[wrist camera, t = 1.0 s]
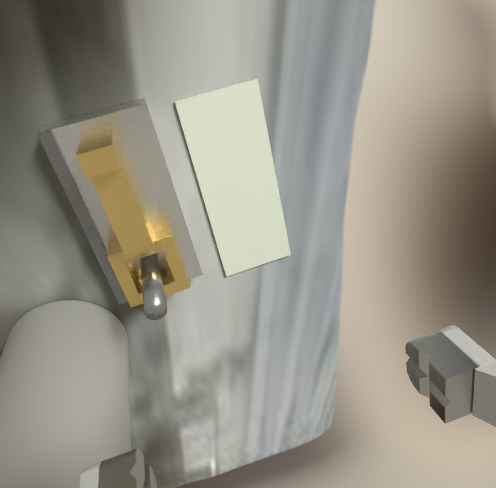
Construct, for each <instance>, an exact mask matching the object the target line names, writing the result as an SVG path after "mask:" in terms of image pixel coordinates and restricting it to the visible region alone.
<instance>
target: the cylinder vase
mask: <svg viewBox="0 0 496 488" xmlns="http://www.w3.org/2000/svg"><path fill="white" fill-rule="evenodd" d="M129 451H131V426H130V391H129V356H128V337H127V333H126V331H125V328H124V326H123V325H122V323H121V322H120V321H119V319H118V318H117V317H116V316H115V315H114V314H112V313H111V312H110V311H108V310H106V309H105V308H103V307H101V306H99V305H96V304H93V303H89V302H85V301H78V300H62V301H55V302H51V303H47V304H44V305H41V306H39V307H37V308H35V309H33V310H31V311H29V312H28V313H26V314H25V315H24V316H22V317H21V318H20V319H19V320H18V321H17V322H16V324H15V325H14V326H13V328H12V329H11V331H10V333H9V335H8V338H7V341H6V344H5V347H4V349H3V352H2V355H1V358H0V488H79V481H80V474H81V472H82V469H83V468H85V467H88V466H91V465H93V464H96V463H99V462H101V461H104V460H107V459H109V458H112V457H115V456H118V455H121V454H123V453H126V452H129Z"/></svg>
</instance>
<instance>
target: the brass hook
mask: <svg viewBox="0 0 496 488" xmlns="http://www.w3.org/2000/svg"><path fill="white" fill-rule="evenodd" d="M76 158H77V160H78V162H79V164H80V167H81V169H82V171H83V173H84V175H85V178H86V179H87V178H91V180H92V182H93V185H94V187H95V189H96V191H97V194H98V196H99V198H100V201H101V203H102V205H103V207H104V210H105V212H106V214H107V217H108V219H109V221H110V223H111V226H112V228H113V230H114V232H115V235H116V237H117V239H114V240H111V241H108V249H107V257H108V260H109V262H110V264H111V266H112V268H113V270H114V272H115V275H116V277H117V279H118V281H119V283H120V285H121V287H122V290H123V292H124V294H125V296H126V298H127V300H128V302H129V305H130V307H134V306H137V305H140V304H143V303H144V302H143V291H142V279H141V276H140V277H137V275H136V273H135V270H134V268H133V266H132V263H131V261H134V260H137V259H140V258H143V257H146V256H149V255H152V254H155V253H158V252H161V251H164V253H165V256H166V259H167V261H168V264H169V267H167V268H164V269H161V276H162V282H163V288H164V294H165V296H167V295H169V294H172V293H175V292H178V291H181V290H184V289H187V288H190V283H189V279H188V276H187V272H186V269H185V266H184V263H183V260H182V258H181V255H180V252H179V249H178V246H177V244H176V241H175V238H174V235H173V232H172V229H171V227H170V224H169V222H168V223H164V224H161V225H158V226H155V227H151V224H150V221H149V219H148V216H147V214H146V211H145V208H144V206H143V203H142V200H141V198H140V195H139V193H138V190H137V187H136V185H135V182H134V179H133V177H132V174H131V172H130V169H129V166H128V164H127V161H126V159H125V156H124V153H123V151H122V148H121V145H120V143H119V140H118V138H117V135H116V132H115V130H114V127H113V126H110V127H107V128H103V129H100V130H96V131H93V132H89V133H85V134H82V137H81V140H80V143H79V146H78V149H77V152H76Z"/></svg>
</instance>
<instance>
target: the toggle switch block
mask: <svg viewBox="0 0 496 488" xmlns="http://www.w3.org/2000/svg"><path fill="white" fill-rule="evenodd" d="M110 126H113V127H114V130H115V132H116V135H117V138H118V140H119V143H120V145H121V148H122V151H123V153H124V156H125V159H126V161H127V164H128V166H129V169H130V172H131V174H132V177H133V179H134V182H135V185H136V187H137V190H138V193H139V195H140V198H141V200H142V203H143V206H144V208H145V211H146V214H147V216H148V219H149V221H150V224H151V227H155V226H158V225H161V224H164V223H168V222H169V224H170V227H171V229H172V232H173V235H174V238H175V241H176V244H177V246H178V249H179V252H180V255H181V258H182V260H183V263H184V266H185V269H186V272H187V276H188V279H191V278H194V277H197V276H200V275H203V274H202V271H201V268H200V265H199V262H198V259H197V256H196V253H195V250H194V247H193V244H192V241H191V238H190V235H189V232H188V229H187V225H186V222H185V219H184V216H183V213H182V210H181V207H180V204H179V201H178V198H177V195H176V192H175V189H174V186H173V183H172V180H171V177H170V174H169V171H168V168H167V165H166V162H165V159H164V156H163V153H162V150H161V147H160V144H159V141H158V138H157V135H156V132H155V129H154V126H153V123H152V120H151V117H150V114H149V111H148V108H147V105H146V102H145V99H144V98H142V99H138V100H135V101H131V102H127V103H124V104H120V105H116V106H113V107H109V108H105V109H102V110H98V111H95V112H91V113H87V114H84V115H80V116H76V117H73V118H69V119H65V120H62V121H58V122H54V123H51V124H47V125H44V126H43V127H42V128H41V130H40V131H39V133H38V134H37V135H38V137H39V140H40V142H41V144H42V146H43V148H44V150H45V152H46V154H47V156H48V158H49V160H50V162H51V164H52V166H53V168H54V171H55V173H56V175H57V177H58V179H59V181H60V183H61V185H62V187H63V189H64V191H65V193H66V195H67V197H68V200H69V202H70V204H71V206H72V208H73V210H74V212H75V214H76V216H77V218H78V220H79V222H80V224H81V226H82V229H83V231H84V233H85V235H86V237H87V239H88V241H89V243H90V245H91V247H92V249H93V251H94V253H95V255H96V258H97V260H98V262H99V264H100V266H101V268H102V270H103V272H104V274H105V276H106V278H107V280H108V282H109V284H110V286H111V289H112V291H113V293H114V295H115V297H116V299H117V301H118V303H119V305H120V304H123V303H126V302H128V300H127V298H126V296H125V294H124V292H123V290H122V287H121V285H120V283H119V281H118V279H117V277H116V275H115V272H114V270H113V268H112V266H111V264H110V262H109V260H108V257H107V249H108V241H111V240H114V239H117V237H116V235H115V232H114V230H113V228H112V226H111V223H110V221H109V219H108V217H107V214H106V212H105V210H104V207H103V205H102V203H101V201H100V198H99V196H98V194H97V191H96V189H95V187H94V185H93V182H92V180H91V178H87V179H86V178H85V175H84V173H83V171H82V169H81V167H80V164H79V162H78V160H77V158H76V152H77V149H78V146H79V143H80V140H81V137H82V134H85V133H89V132H93V131H96V130H100V129H103V128H107V127H110ZM131 263H132V266H133V268H134V270H135V273H136V275H137V277H140V276H141V279H142V291H143V302H144V313H145V316H146V317H147V318H149V319H151V320H158V319H161V318H162V317H164V316H165V315H166V313H167V306H166V300H165V294H164V288H163V282H162V276H161V269H164V268H167V267H169V264H168V261H167V259H166V256H165V253H164V251H161V252H158V253H155V254H152V255H149V256H146V257H143V258H140V259H137V260H134V261H131Z"/></svg>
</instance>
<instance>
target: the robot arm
mask: <svg viewBox="0 0 496 488" xmlns="http://www.w3.org/2000/svg"><path fill="white" fill-rule="evenodd" d="M406 353H407V355H408V356H409V357H410V358H409V360H408V361H407V363H406V364H407V372H408V375H409V377H410V380H411V382H412V383H413V385H414V387H415V388H416V389H417V391H418V392H419V393H420V394H422V395H425V396H427V397H429V398H430V406H431V407H432V409H434V411H435V412H436V413H437V414H438V416H439V417H440V418H441V419H442V420H443V422H444V423H448V422H451V421H453V420H456V419H458V418H461V417H463V416H466V415H468V414H471V413H472V415H473V416H475V417H478V418H479V419H481V420H483V421H485V422H487V423H489V424H491V425H493V426H495V427H496V360H495V359H494V358H493V357H492V356H490V355H489V354H488V353H487V352H486V351H485V350H484V349H482V348H481V347H480V346H479V345H478V344H476V343H475V342H474V341H473V340H472V339H470V338H469V337H468V336H467V335H466V334H465V333H463V332H462V331H461V330H460V329H459V328H458V327H456V326H454V325H451V326H449V327H446V328H444V329H441V330H438V331H437V332H436V331H435V332H433V333H430V334H428V335H425V336H423V337H420V338H418V339H415V340H413V341H411V342H408V343H407V344H406ZM79 488H157V484H156V480H155V476H154V474H153V471H152V469H151V467H150V465H148V464H145V463H144V455H143V453H142V452H141V450H140V449H139V448H138V449H134V450H132V451H129V452H126V453H123V454H121V455H118V456H115V457H112V458H109V459H107V460H104V461H101V462H99V463H96V464H93V465H91V466H88V467H85V468H83V469H82V472H81V474H80V481H79Z"/></svg>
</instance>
